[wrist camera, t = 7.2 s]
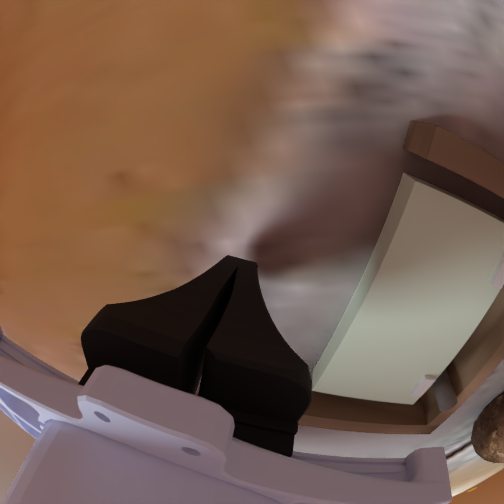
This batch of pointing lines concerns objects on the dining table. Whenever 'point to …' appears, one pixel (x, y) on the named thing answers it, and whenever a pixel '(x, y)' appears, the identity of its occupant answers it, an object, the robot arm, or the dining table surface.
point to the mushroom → (490, 432)
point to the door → (415, 297)
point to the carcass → (474, 350)
